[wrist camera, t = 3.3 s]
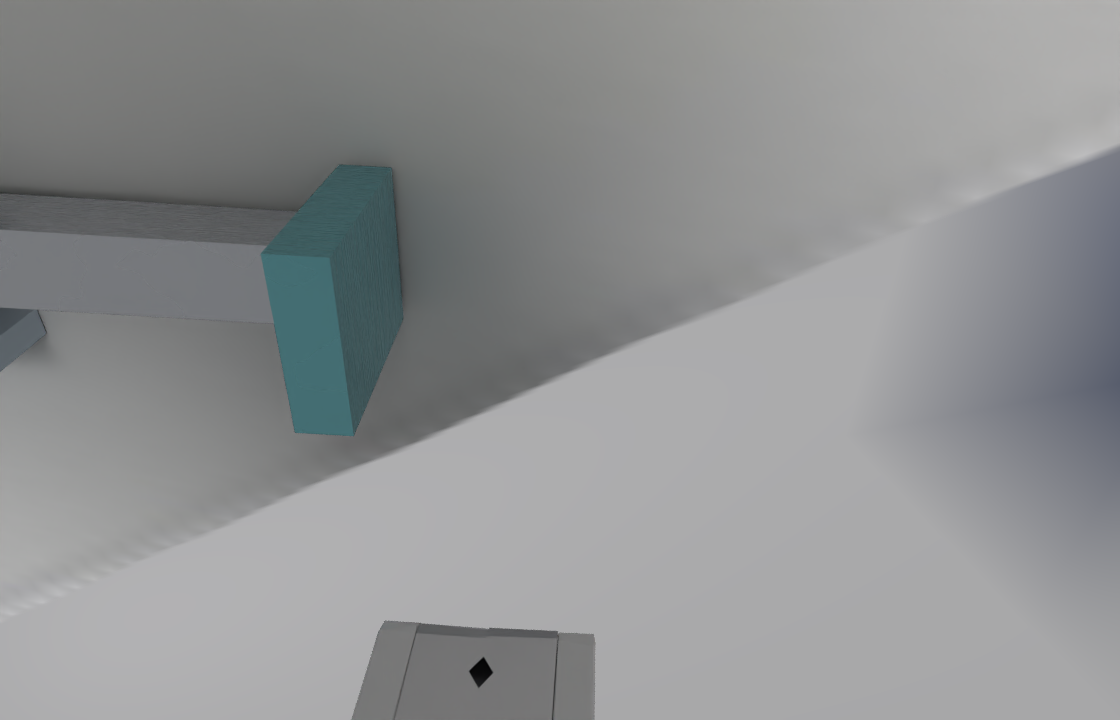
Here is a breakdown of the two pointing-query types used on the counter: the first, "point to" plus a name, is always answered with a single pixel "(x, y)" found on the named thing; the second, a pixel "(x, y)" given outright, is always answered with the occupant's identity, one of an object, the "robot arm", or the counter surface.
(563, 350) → the counter surface
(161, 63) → the counter surface
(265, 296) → the teal headed mallet
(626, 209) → the counter surface
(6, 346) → the channel
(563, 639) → the robot arm
